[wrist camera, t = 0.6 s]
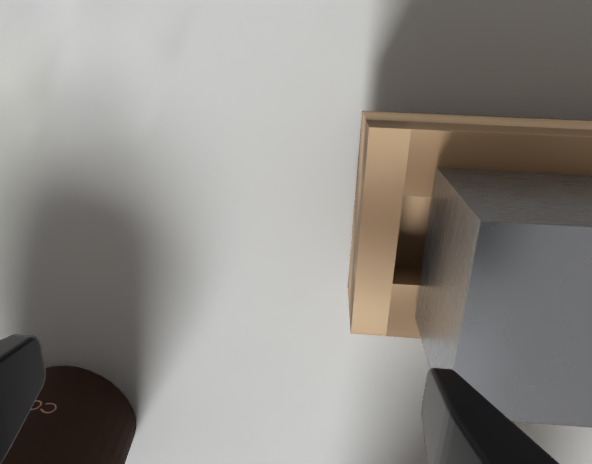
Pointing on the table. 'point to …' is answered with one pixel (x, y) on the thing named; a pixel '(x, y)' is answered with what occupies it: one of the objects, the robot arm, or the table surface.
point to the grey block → (512, 290)
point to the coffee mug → (75, 422)
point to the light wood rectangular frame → (419, 189)
